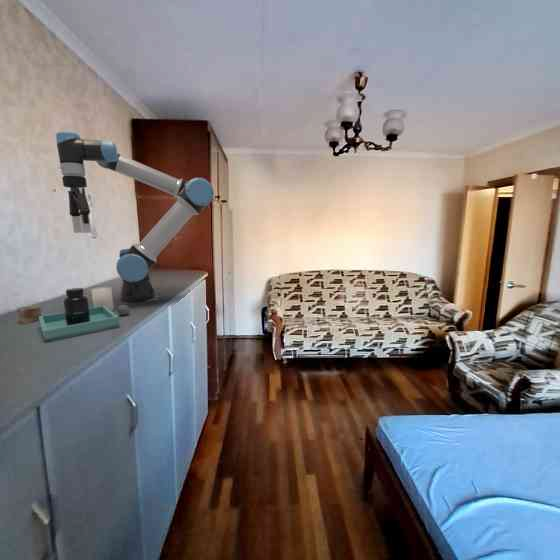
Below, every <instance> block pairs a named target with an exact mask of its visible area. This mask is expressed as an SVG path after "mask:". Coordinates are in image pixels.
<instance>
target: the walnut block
mask: <svg viewBox="0 0 560 560" xmlns="http://www.w3.org/2000/svg"><path fill="white" fill-rule="evenodd" d="M41 310H42V309H41V307H40V306H37V305H31V306H24V307H20V308H17V312H18V319H19V322H20V323H21V322H22V324H24V325H27V324H28V325H29V324H32V323H37V322H39V316H42V311H41Z"/></svg>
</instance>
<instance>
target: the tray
mask: <svg viewBox="0 0 560 560" xmlns="http://www.w3.org/2000/svg"><path fill="white" fill-rule="evenodd" d="M89 314H90V322H85V323H80V324H74V325H69V326H67V324H66V318H65V311H64V312H57V313H52V314H45V315H41V316H39V321H38V323H39V327H40V330H41V332H42V336H43V339H44V342H45V343H49V342H55V341H59V340H64V339H68V338H73V337H79V336H83V335H88V334H93V333H97V331H98V332H103V331H106V330H110V329H111V330H112V329H116V328H117V329H118V328H120V320H119V319H120V318H119V316H118V315H117V314H116V313H115V312H113V310H112V311H111V310H109V309H108V308H107V307H106V306H99V307H94V306H93V307H89ZM102 330H103V331H102Z"/></svg>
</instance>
